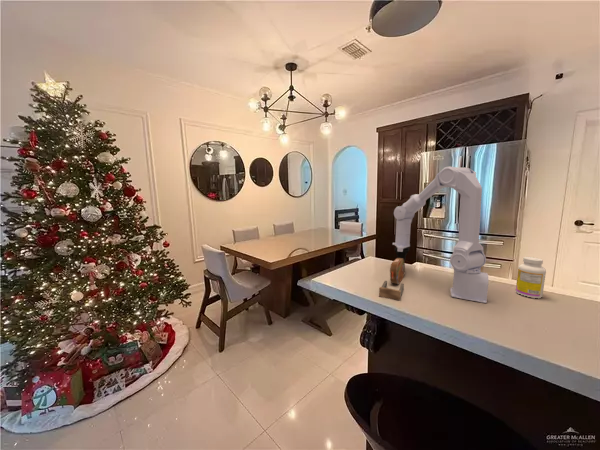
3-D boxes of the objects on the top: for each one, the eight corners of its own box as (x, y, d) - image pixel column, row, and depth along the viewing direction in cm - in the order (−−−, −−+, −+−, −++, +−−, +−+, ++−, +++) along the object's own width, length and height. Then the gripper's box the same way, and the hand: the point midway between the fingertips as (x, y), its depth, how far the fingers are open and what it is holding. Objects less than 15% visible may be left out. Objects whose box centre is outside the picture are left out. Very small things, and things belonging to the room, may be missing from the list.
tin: (396, 287, 88) (397, 265, 86) (388, 285, 89) (389, 264, 88) (405, 275, 100) (406, 256, 99) (397, 274, 102) (398, 255, 100)
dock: (403, 289, 86) (404, 281, 85) (399, 300, 77) (400, 291, 76) (384, 285, 89) (385, 278, 89) (379, 296, 80) (379, 287, 80)
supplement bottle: (522, 289, 85) (527, 255, 83) (547, 297, 78) (552, 260, 77) (510, 292, 83) (515, 256, 81) (534, 300, 76) (539, 262, 75)
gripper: (395, 230, 111) (394, 258, 112) (390, 235, 98) (388, 267, 100) (412, 232, 107) (410, 260, 109) (408, 237, 95) (407, 269, 96)
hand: (401, 264), depth 104 cm, fingers closed
